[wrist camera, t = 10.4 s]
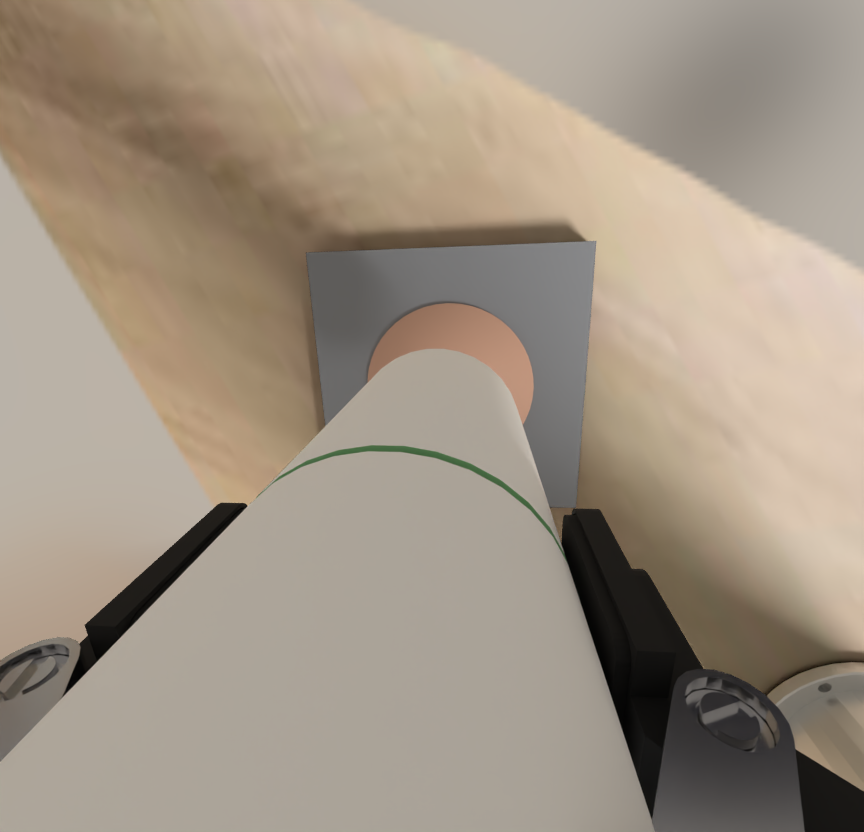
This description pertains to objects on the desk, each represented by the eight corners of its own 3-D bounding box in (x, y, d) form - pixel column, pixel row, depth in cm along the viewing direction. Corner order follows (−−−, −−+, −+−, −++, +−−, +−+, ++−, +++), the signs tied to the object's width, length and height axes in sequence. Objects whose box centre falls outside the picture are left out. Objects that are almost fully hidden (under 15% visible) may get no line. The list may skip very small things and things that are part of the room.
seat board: (588, 243, 25) (597, 240, 23) (570, 496, 30) (576, 509, 28) (315, 253, 26) (304, 252, 25) (340, 492, 31) (333, 504, 30)
